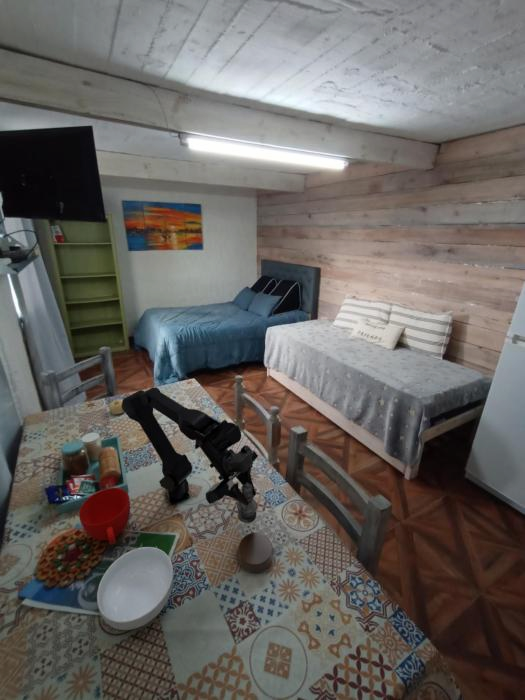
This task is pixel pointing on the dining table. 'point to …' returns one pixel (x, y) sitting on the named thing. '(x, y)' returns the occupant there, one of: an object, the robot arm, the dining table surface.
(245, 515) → the grey stone chess piece
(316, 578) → the dining table surface
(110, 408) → the onion
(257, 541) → the walnut puck
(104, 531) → the ceramic cup
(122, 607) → the cereal bowl
